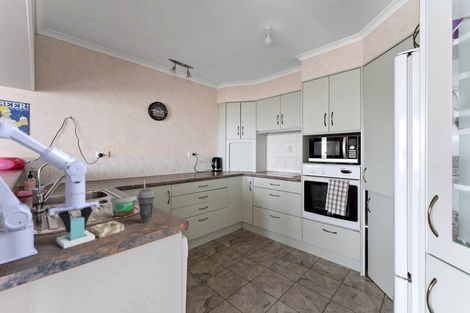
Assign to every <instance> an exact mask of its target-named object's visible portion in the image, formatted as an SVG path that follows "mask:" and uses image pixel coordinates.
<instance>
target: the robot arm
mask: <svg viewBox="0 0 470 313" xmlns="http://www.w3.org/2000/svg"><path fill="white" fill-rule="evenodd" d="M0 139H3V140H4V139H6V140H11V141H13V142H15V143H17V144H19V145H21V146H23V147H25V148H26V149H29V150H31V151H32V152H35V153H36V154H38V155H39V158H40V161H42V162H44V163H46V164H48V165H49V166H52V167H54V168H55V169H57V170H58V171H63V172H64V174H65V184H64V185H65V186H64V187H65V191H64V192H65V205H62V206H57V207H53V208H48V216H50V217H51V216H54V215H58V217H59V218H60V219H61V221H62V223H63V225H64V228H65V232H66V233H69V232H70V218H71V216H72V215H71V214H70V212H74V211H80V216H82V217H84V230H85V229H86V227H87V224H88V220H89V218H90V216H91V214H92V213H93V208H99V207H100V201H98V200H96V201H90V202H89V201H88V202H86V180H85V179H86V176H85V175H86V174H87V171H88V168H87V166H86V164H85V163H84V162H82V161H78V160H77V157H75V156H71V155H69V154H68V153H67V152H64V149H63V148H61V147H58V148H57V147H56V146H46V145H44V144H43V143H41V142H40V141H38V140H37V139H35V138H33V137H31V136H30V135H28V134H27V133H25V132H23V131H22V130H20V129H19V128H17V127H15V126H14V125H11V124H9V123H7V122H5V121H3V120H0ZM32 220H33V213H32V212H31V208H30V207H29V205H27V204H24V203H22V202H21V201H20V200H19V197H17V196H16V195H15V194H14V193H13V191H12V190H11V188H10V187H9V185H8V184H7V182H5V180H4V179H3V177H2V176H1V175H0V224H1V226H0V265H3V264H6V263H9V262H13V261H17V260H20V259H23V258H27V257H31V256H33V255H37V254H38V253H39V252H38V251H37V249H36V248H35V246H34V245H35V244H34V243H35V242H34V240H35V239H34V238H35V237H34V235H35V234H34V232H35V231H34V229H35V228H34V222H33V221H32Z"/></svg>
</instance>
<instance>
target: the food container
mask: <svg viewBox="0 0 470 313" xmlns="http://www.w3.org/2000/svg"><path fill="white" fill-rule="evenodd" d="M136 200H137V201H138V196H137V195H134V196H130V197H126V196H124V197H123V196H122V197H118V198H117V197H116V198H113V197H111V198H110V203H111V206H112V213H113V218H115V217H124V216H129V215H132V214H134V215H135V208H136ZM132 216H133V215H132Z"/></svg>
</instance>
